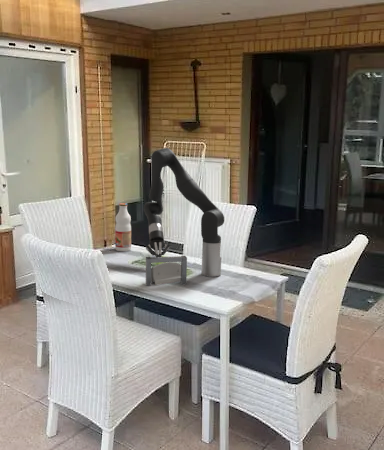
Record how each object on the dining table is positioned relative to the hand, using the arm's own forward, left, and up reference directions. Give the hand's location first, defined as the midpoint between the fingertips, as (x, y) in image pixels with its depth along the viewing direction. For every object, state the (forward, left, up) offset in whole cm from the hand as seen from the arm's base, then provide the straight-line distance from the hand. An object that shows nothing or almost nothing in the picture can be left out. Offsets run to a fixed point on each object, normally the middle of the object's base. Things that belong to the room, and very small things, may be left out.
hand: (159, 261), depth 256 cm
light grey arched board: (-1, +17, -5) cm, 18 cm away
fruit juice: (+15, -45, -5) cm, 48 cm away
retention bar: (0, +22, -5) cm, 23 cm away
